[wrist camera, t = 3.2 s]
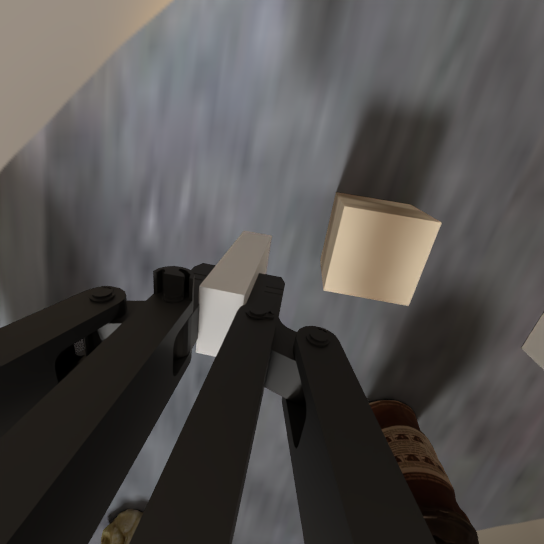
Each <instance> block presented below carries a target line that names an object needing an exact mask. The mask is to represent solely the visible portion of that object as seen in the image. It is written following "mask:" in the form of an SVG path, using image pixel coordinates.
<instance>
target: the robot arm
mask: <svg viewBox="0 0 544 544" xmlns="http://www.w3.org/2000/svg"><path fill="white" fill-rule="evenodd" d="M271 238H272V236H270V235H265V234H259V233H254V232H248V231H243V232H242V234H241V235H240V236H239V237H238V239H237V240H236V241H235V242H234V244H233V245H232V246H231V247H230V249H229V250H228V251H227V252H226V254H225V255H224V256H223V257H222V259H221V260H220V261H219V262H218V264H217V265H216V266H215V265H210V264H205V263H202V264H200V265H197V266H195V267H194V268H193V269H192V270H189V269H187V268H183V267H177V266H168V267H162V268H158V269H156V270H155V271H153V277H154V294H153V295H152V296H151V297H150V298H149V299H147V300H146V301H126V294H125V291H123V290H122V289H120V288H116V287H112V286H101V287H96V288H92V289H89V290H86V291H84V292H82V293H79V294H77V295H75V296H73V297H70V298H68V299H66V300H63V301H61V302H59V303H57V304H54V305H52V306H50V307H48V308H45V309H43V310H41V311H38V312H36V313H34V314H32V315H29V316H27V317H25V318H22V319H20V320H18V321H16V322H13V323H11V324H9V325H7V326H4V327H2V328H0V544H88V543H89V541H90V539H91V538H92V536H93V534H94V532H95V531H96V529H97V527H98V525H99V523H100V522H101V520H102V518H103V516H104V515H105V513H106V511H107V509H108V507H109V506H110V504H111V502H112V500H113V499H114V497H115V495H116V493H117V491H118V490H119V488H120V486H121V484H122V483H123V481H124V479H125V477H126V475H127V474H128V472H129V470H130V468H131V467H132V465H133V463H134V461H135V459H136V458H137V456H138V454H139V452H140V451H141V449H142V447H143V445H144V443H145V442H146V440H147V438H148V436H149V435H150V433H151V431H152V429H153V427H154V426H155V424H156V422H157V420H158V419H159V417H160V415H161V413H162V411H163V410H164V408H165V406H166V404H167V403H168V401H169V399H170V397H171V395H172V394H173V392H174V390H175V388H176V387H177V385H178V383H179V381H180V379H181V378H182V376H183V374H184V372H185V371H186V369H187V367H188V365H189V363H190V361H191V353H192V348H193V346H194V344H195V343H196V341H197V343H196V353H201V354H206V355H210V356H215V357H216V358H215V360H214V362H213V364H212V366H211V369H210V371H209V373H208V375H207V377H206V379H205V381H204V384H203V386H202V388H201V390H200V392H199V394H198V397H197V399H196V401H195V403H194V405H193V407H192V409H191V412H190V414H189V416H188V418H187V420H186V422H185V424H184V427H183V429H182V431H181V433H180V435H179V437H178V440H177V442H176V444H175V446H174V448H173V450H172V452H171V455H170V457H169V459H168V461H167V463H166V465H165V468H164V470H163V472H162V474H161V476H160V478H159V480H158V483H157V485H156V487H155V489H154V491H153V493H152V496H151V498H150V500H149V502H148V504H147V506H146V508H145V511H144V513H143V515H142V517H141V519H140V521H139V523H138V526H137V528H136V530H135V532H134V534H133V536H132V539H131V541H130V543H129V544H232V540H233V536H234V531H235V526H236V521H237V516H238V512H239V507H240V502H241V497H242V492H243V488H244V483H245V478H246V473H247V468H248V463H249V459H250V454H251V449H252V444H253V439H254V435H255V430H256V425H257V420H258V415H259V411H260V406H261V401H262V396H263V393H264V387H265V388H267V389H269V390H271V391H273V392H275V393H277V394H278V395H280V396H282V405H283V411H284V418H285V424H286V430H287V436H288V443H289V449H290V455H291V462H292V468H293V474H294V480H295V487H296V493H297V499H298V505H299V512H300V518H301V524H302V530H303V537H304V543H305V544H436V542H435V540H434V538H433V536H432V534H431V532H430V530H429V528H428V526H427V524H426V521H425V519H424V517H423V515H422V513H421V511H420V509H419V507H418V505H417V503H416V501H415V498H414V496H413V494H412V492H411V490H410V488H409V486H408V484H407V482H406V480H405V478H404V475H403V473H402V471H401V469H400V467H399V465H398V463H397V461H396V459H395V457H394V455H393V453H392V450H391V448H390V446H389V444H388V442H387V440H386V438H385V436H384V434H383V432H382V430H381V427H380V425H379V423H378V421H377V419H376V417H375V415H374V413H373V411H372V409H371V407H370V404H369V402H368V400H367V398H366V396H365V394H364V392H363V390H362V388H361V386H360V384H359V381H358V379H357V377H356V375H355V373H354V371H353V369H352V367H351V365H350V363H349V361H348V358H347V356H346V354H345V352H344V350H343V348H342V346H341V344H340V342H339V340H338V339H337V337H336V336H335V335H334V334H333V333H331V332H330V331H328V330H326V329H324V328H321V327H316V326H305V327H303V328H301V329H299V330H298V332H295V331H293V330H291V329H289V328H287V327H286V326H285V325H283V324H282V322H281V321H280V319H279V312H280V307H281V302H282V296H283V291H284V286H285V283H284V281H283V279H282V278H281V277H277V276H272V275H267V274H266V270H267V264H268V257H269V251H270V244H271ZM81 339H83V340H84V347H85V350H83V351H82V352H79V353H77V354H76V353H75V349H74V343H76V342H78V341H79V340H81Z"/></svg>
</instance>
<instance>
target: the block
mask: <svg viewBox="0 0 544 544" xmlns="http://www.w3.org/2000/svg"><path fill="white" fill-rule="evenodd" d="M440 226H441V222H440V221H438V220H436V219H435V218H433V217H431V216H429V215H428V214H426V213H424V212H423V211H421V210H419V209H417V208H416V207H414V206H412V205H410V204H404V203H398V202H392V201H386V200H380V199H374V198H368V197H362V196H356V195H350V194H344V193H338V192H336V195H335V199H334V204H333V208H332V212H331V217H330V221H329V225H328V230H327V234H326V238H325V242H324V247H323V251H322V255H321V260H320V261H321V271H322V281H323V290H324V291H330V292H335V293H341V294H346V295H352V296H357V297H363V298H368V299H374V300H379V301H385V302H390V303H396V304H401V305H406V306H409V304H410V301H411V299H412V296H413V294H414V291H415V288H416V286H417V283H418V281H419V278H420V276H421V273H422V271H423V268H424V266H425V263H426V261H427V258H428V256H429V253H430V251H431V248H432V246H433V243H434V241H435V238H436V236H437V233H438V231H439V228H440Z"/></svg>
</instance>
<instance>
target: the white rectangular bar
mask: <svg viewBox="0 0 544 544" xmlns="http://www.w3.org/2000/svg"><path fill="white" fill-rule="evenodd" d="M522 349H523V350H524V351H525V352H526V353H527V354H528V355H529V356H530V357H531V358H532V359H533V360H534V361H535V362H536V363H537V364H538V365H539V366H540V367H542V368H543V369H544V313H543V315H542V316H541V318H540V319H539V321H538V322H537V324H536V326H535V327H534V329H533V330H532V332H531V333H530V335H529V337H528V338H527V340H526V341H525V343H524V345H523V346H522Z"/></svg>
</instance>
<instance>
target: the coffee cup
mask: <svg viewBox="0 0 544 544" xmlns="http://www.w3.org/2000/svg"><path fill="white" fill-rule="evenodd" d="M369 404H370V407H371V409H372V411H373V413H374V415H375V417H376V419H377V421H378V423H379V425H380V427H381V430H382V432H383V434H384V436H385V438H386V440H387V442H388V444H389V446H390V448H391V450H392V453H393V455H394V457H395V459H396V461H397V463H398V465H399V467H400V469H401V471H402V473H403V475H404V478H405V480H406V482H407V484H408V486H409V488H410V490H411V492H412V494H413V496H414V498H415V501H416V503H417V505H418V507H419V509H420V511H421V513H422V515H423V517H424V519H425V521H426V524H427V526H428V528H429V530H430V532H431V534H432V536H433V538H434V540H435V542H436V544H479V542H478V536H477V532H476V530H475V528H474V527H473V526H472V525H471V523H470V521H469V519H468V517H467V516H466V514H465V513H464V512H463V511H462V510H461V509H460V507H459V506H458V504H457V502H456V498H455V493H454V489H453V487H452V485H451V483H450V481H449V479H448V476H447V474H446V473H445V471H444V468H443V467H442V465H441V463H440V461H439V460H438V458H437V455H436V453H435V451H434V448H433V446H432V445H431V443H430V441H429V440H428V438H427V437H426V436H425V435H424V434H423V433H422V432H421V431H420V428H419V425H418V422H417V419H416V415H415V413H414V411H413V410H412V409H411V408H410V407H409V406H407V405H405V404H403V403H401V402H398V401H394V400H379V401H375V402H371V403H369Z"/></svg>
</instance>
